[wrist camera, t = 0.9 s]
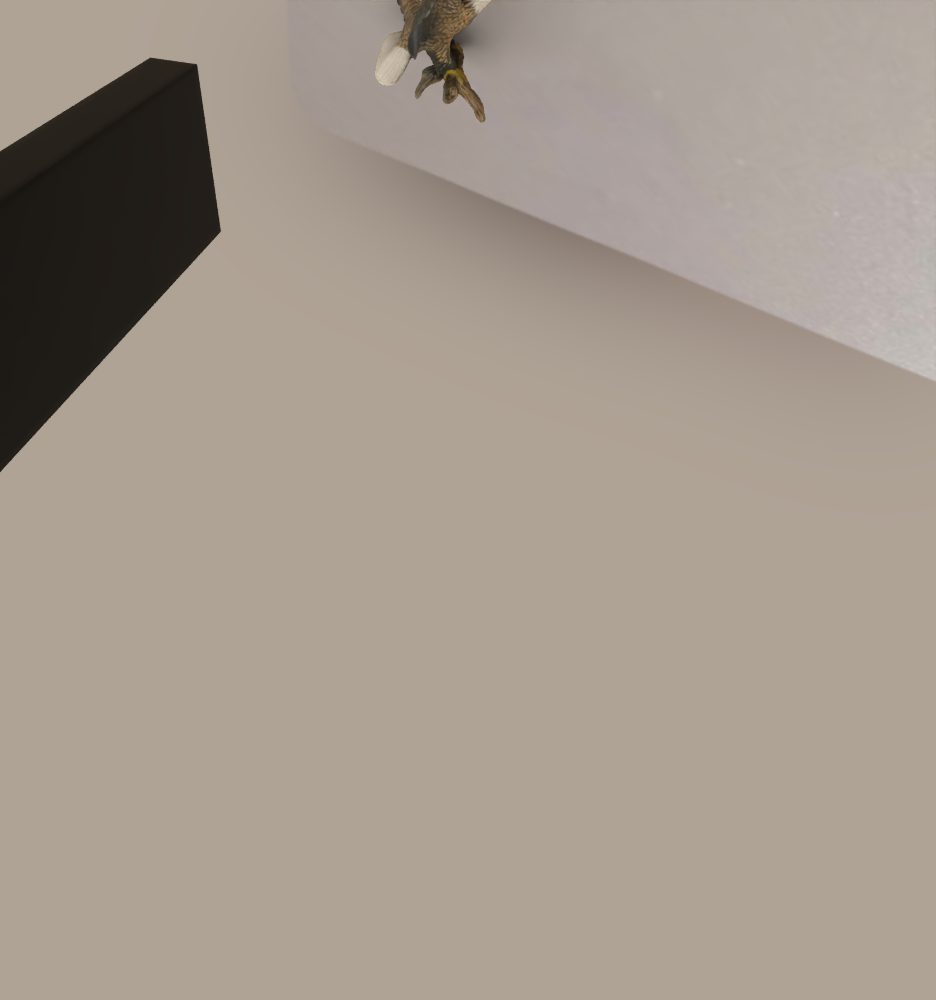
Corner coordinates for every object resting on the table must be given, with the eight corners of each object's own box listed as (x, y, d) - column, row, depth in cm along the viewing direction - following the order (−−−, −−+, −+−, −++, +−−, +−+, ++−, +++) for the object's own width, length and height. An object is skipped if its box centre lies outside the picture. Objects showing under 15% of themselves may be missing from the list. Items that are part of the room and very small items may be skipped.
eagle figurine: (547, 84, 43) (539, -95, 35) (434, 154, 42) (397, -12, 34) (466, 8, 46) (441, -173, 38) (359, 72, 45) (308, -99, 37)
